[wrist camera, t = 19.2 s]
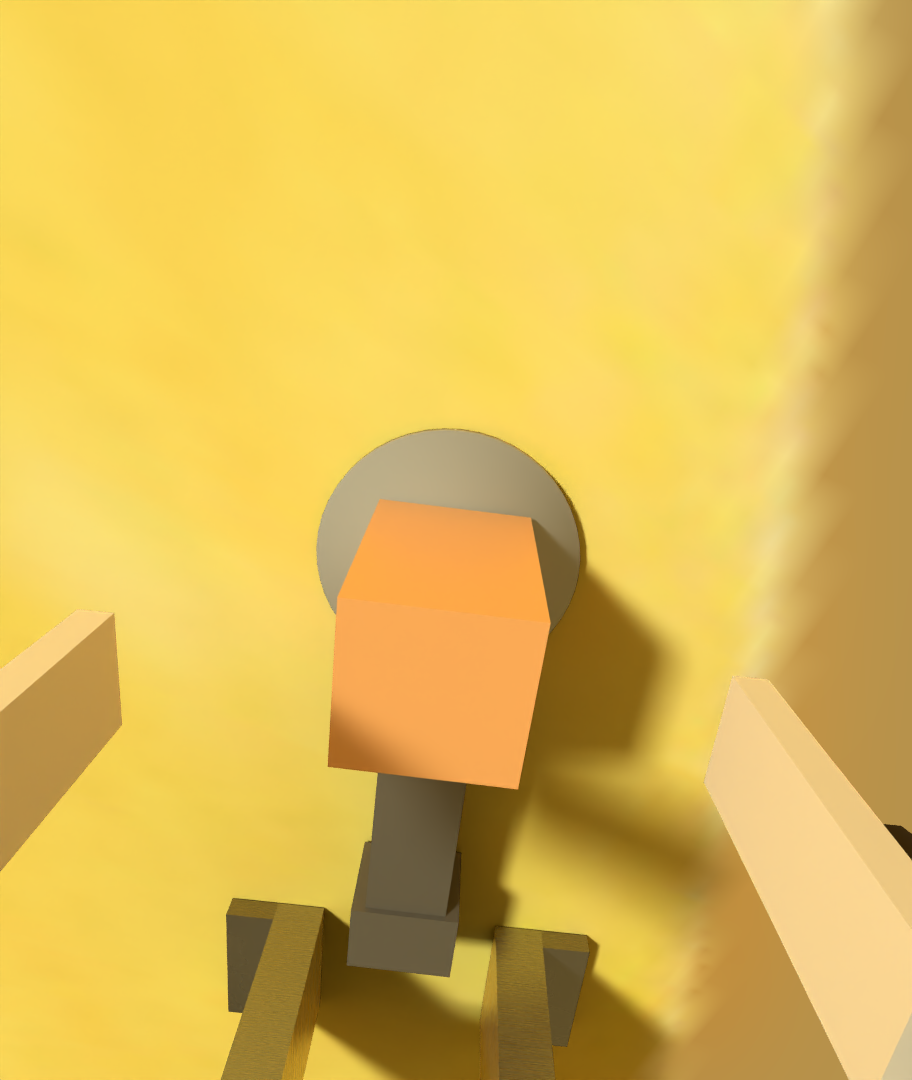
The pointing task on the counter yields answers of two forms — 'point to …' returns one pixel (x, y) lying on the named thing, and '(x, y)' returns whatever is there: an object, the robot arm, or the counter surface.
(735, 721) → the robot arm
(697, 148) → the counter surface
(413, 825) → the plug
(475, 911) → the counter surface
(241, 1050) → the housing
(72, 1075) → the counter surface
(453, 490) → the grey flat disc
